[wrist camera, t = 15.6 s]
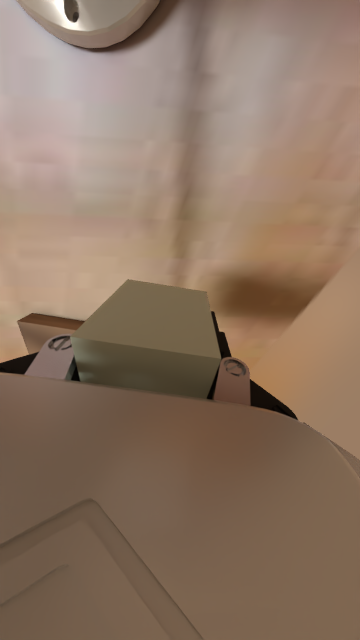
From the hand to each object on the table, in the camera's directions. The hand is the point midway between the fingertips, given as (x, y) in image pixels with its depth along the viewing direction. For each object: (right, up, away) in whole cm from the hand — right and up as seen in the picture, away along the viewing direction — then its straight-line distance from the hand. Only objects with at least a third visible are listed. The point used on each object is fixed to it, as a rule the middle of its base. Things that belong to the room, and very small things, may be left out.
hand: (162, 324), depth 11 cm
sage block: (0, 0, +1) cm, 1 cm away
